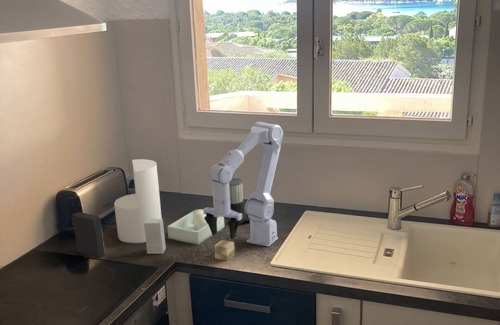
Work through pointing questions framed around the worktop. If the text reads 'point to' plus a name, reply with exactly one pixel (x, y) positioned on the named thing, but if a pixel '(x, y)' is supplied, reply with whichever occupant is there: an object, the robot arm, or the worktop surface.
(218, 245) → the beech block
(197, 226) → the ivory cylinder
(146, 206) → the white stepped cylinder
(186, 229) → the tote
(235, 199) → the milk frother
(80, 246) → the calculator
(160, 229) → the skincare box
